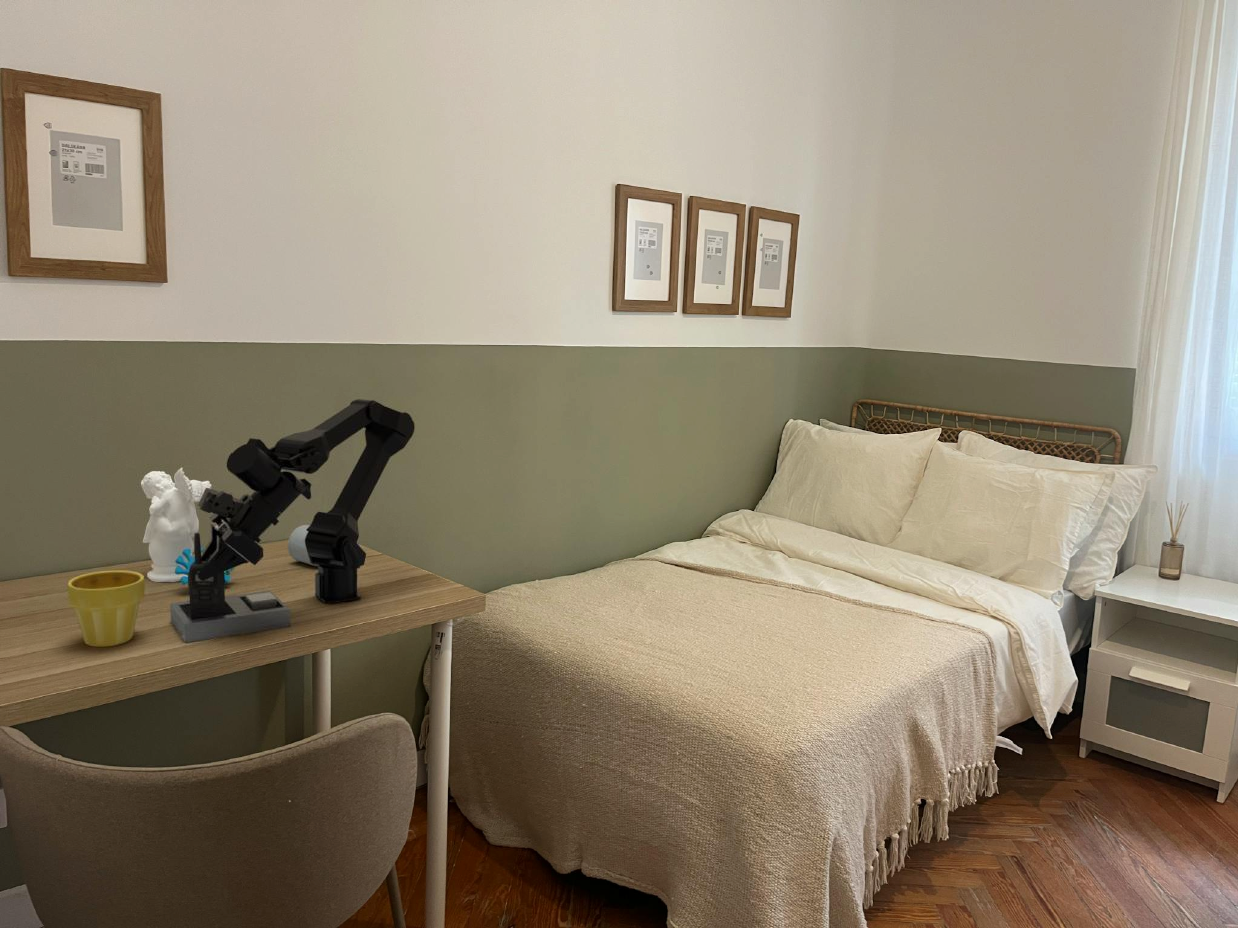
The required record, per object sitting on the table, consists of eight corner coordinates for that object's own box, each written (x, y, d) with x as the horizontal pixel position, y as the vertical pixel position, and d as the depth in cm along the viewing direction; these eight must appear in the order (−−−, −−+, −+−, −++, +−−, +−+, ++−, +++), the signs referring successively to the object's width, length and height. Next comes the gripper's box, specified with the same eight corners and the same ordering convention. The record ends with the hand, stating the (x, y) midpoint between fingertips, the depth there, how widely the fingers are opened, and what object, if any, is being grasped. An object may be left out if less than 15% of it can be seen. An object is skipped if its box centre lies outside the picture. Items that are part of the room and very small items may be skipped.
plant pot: (135, 650, 141) (133, 587, 139) (60, 652, 139) (56, 589, 137) (154, 627, 151) (152, 569, 149) (84, 629, 149) (81, 570, 147)
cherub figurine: (137, 575, 180) (131, 462, 177) (200, 564, 189) (196, 457, 186) (165, 587, 172) (159, 470, 169) (229, 575, 182) (226, 463, 179)
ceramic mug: (312, 571, 187) (312, 533, 186) (286, 563, 192) (286, 527, 191) (354, 561, 196) (354, 526, 195) (328, 555, 201) (329, 520, 200)
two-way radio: (187, 624, 150) (183, 535, 147) (193, 614, 154) (190, 527, 151) (224, 623, 151) (221, 534, 148) (229, 613, 156) (226, 527, 152)
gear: (182, 590, 166) (172, 544, 170) (171, 608, 169) (161, 561, 173) (243, 588, 174) (232, 543, 178) (231, 605, 177) (220, 560, 181)
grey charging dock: (270, 606, 164) (269, 590, 163) (290, 626, 154) (289, 608, 154) (170, 620, 155) (170, 603, 154) (185, 642, 145) (184, 623, 144)
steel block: (270, 614, 160) (270, 592, 159) (277, 621, 157) (276, 598, 156) (246, 618, 158) (245, 595, 157) (252, 625, 154) (251, 601, 154)
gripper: (221, 462, 158) (152, 531, 155) (238, 480, 142) (161, 558, 139) (271, 503, 164) (205, 571, 160) (293, 526, 148) (220, 602, 144)
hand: (197, 574), depth 150 cm, fingers closed on two-way radio, 5 cm apart
